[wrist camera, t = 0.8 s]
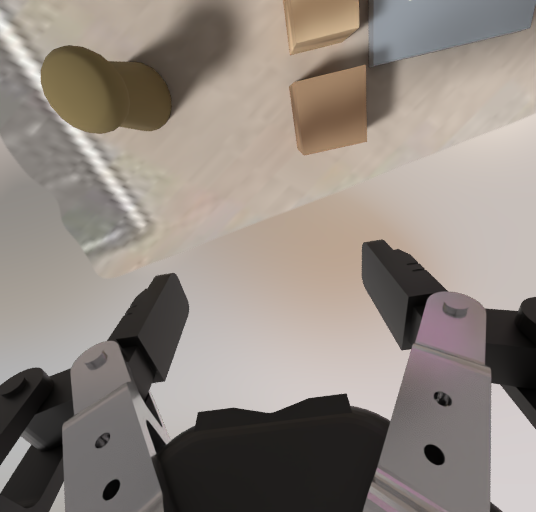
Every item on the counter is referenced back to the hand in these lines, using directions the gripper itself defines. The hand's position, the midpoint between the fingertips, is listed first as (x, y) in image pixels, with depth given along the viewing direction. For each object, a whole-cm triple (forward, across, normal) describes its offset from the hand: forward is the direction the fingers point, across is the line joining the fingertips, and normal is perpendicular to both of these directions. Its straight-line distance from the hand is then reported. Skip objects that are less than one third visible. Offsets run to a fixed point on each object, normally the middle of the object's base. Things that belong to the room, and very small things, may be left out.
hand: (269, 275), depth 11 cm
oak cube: (+22, -7, -13) cm, 26 cm away
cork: (+22, +11, -9) cm, 26 cm away
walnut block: (+22, -7, -5) cm, 24 cm away
